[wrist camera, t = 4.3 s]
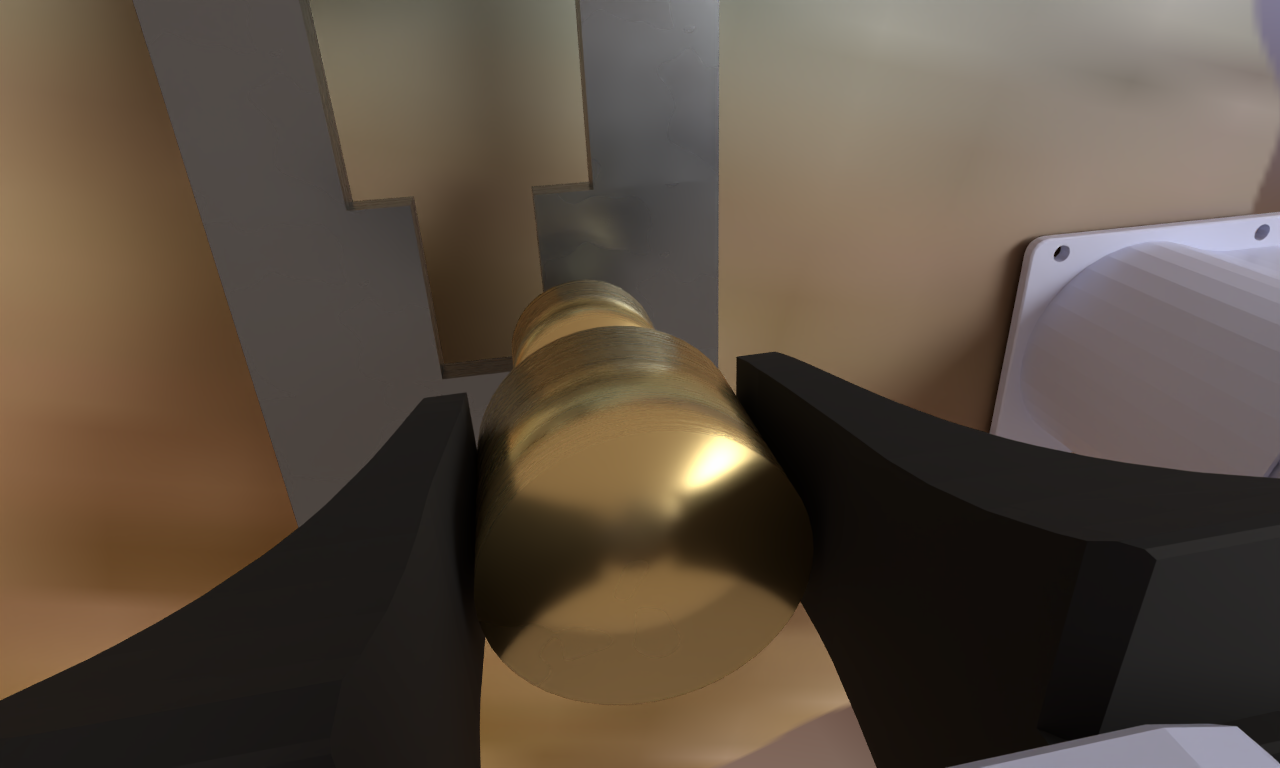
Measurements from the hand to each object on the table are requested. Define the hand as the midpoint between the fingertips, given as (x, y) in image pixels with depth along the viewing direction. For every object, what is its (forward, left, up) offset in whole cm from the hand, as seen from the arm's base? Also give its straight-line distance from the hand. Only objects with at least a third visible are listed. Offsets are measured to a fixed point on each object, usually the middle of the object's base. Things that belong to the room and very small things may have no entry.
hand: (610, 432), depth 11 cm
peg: (0, 0, -4) cm, 4 cm away
